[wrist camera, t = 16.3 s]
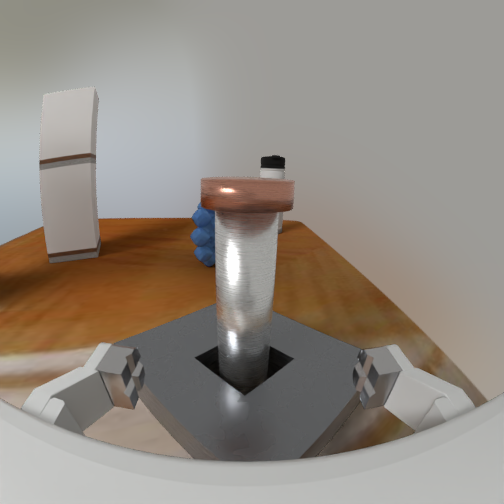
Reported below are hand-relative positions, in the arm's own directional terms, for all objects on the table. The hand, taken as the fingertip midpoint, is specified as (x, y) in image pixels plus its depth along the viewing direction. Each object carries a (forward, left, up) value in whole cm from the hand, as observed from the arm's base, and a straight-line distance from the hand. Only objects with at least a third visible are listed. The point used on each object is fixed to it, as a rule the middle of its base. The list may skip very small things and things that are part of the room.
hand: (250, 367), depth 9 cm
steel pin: (-6, +6, -11) cm, 13 cm away
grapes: (-30, +23, -11) cm, 39 cm away
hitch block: (-6, +6, -10) cm, 13 cm away
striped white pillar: (-57, +4, -11) cm, 58 cm away
